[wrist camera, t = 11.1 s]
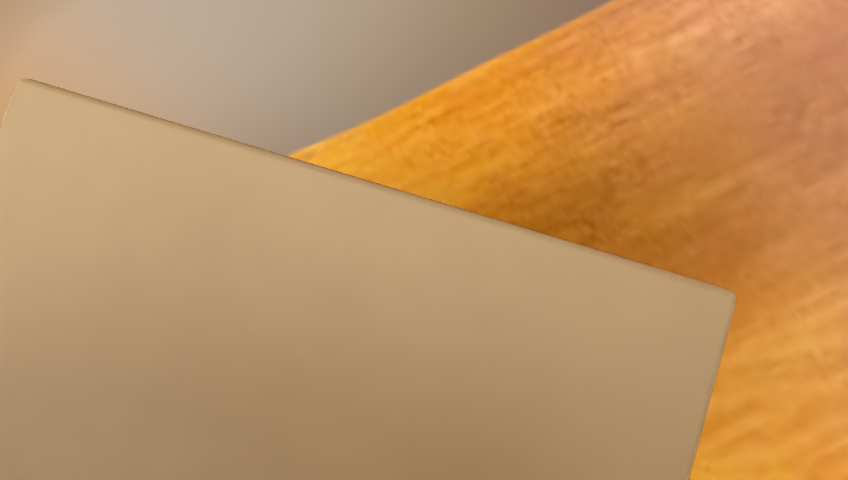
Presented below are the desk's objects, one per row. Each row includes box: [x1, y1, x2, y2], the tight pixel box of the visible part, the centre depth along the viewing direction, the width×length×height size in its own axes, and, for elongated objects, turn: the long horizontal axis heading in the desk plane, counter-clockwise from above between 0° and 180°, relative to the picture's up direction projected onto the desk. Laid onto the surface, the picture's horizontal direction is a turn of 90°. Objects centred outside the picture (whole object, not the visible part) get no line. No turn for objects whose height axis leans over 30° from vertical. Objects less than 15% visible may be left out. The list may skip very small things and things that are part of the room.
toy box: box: [0, 79, 736, 480], centre depth 10 cm, size 6×6×13 cm
